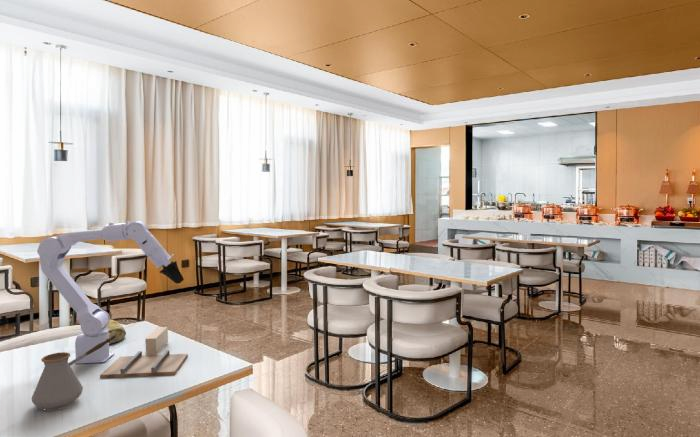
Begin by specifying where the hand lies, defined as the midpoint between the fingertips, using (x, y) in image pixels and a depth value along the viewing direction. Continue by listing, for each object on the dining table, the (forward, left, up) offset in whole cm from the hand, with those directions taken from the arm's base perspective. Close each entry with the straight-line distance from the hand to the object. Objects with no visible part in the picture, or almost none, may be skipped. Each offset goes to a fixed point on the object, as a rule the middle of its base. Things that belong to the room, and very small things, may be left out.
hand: (180, 281), depth 155 cm
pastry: (-32, +17, -25) cm, 44 cm away
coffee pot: (-19, -32, -25) cm, 45 cm away
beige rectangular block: (-10, +5, -25) cm, 27 cm away
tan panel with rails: (-8, -12, -25) cm, 29 cm away
